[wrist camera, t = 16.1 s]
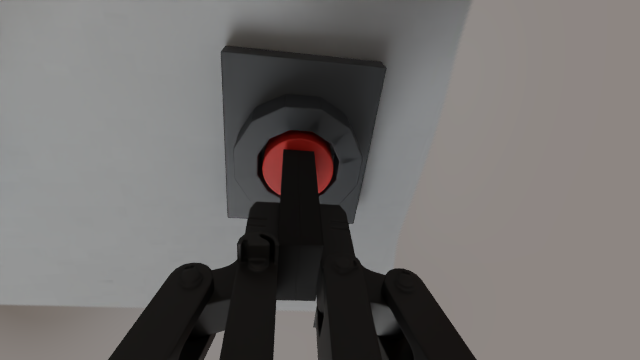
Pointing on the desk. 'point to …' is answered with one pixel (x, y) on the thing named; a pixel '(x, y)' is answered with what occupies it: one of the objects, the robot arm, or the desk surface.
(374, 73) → the button box
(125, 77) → the desk surface
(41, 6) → the desk surface
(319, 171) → the button
